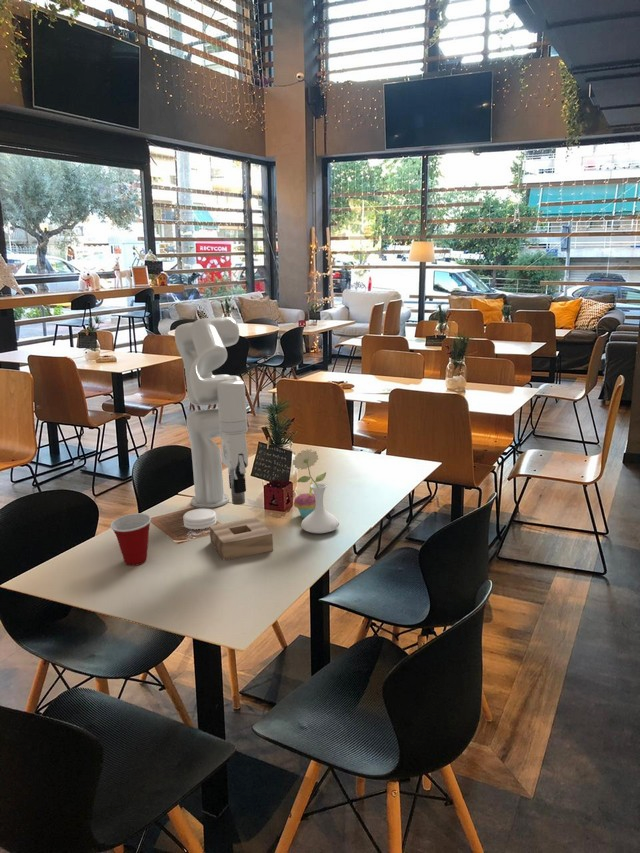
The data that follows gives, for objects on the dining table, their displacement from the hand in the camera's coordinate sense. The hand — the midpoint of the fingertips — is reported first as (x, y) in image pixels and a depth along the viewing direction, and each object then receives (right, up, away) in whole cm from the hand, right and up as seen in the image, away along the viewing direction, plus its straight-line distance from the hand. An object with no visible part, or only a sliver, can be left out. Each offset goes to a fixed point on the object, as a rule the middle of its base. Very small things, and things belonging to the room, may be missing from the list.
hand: (237, 489), depth 194 cm
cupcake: (+19, -11, +26) cm, 34 cm away
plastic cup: (-28, -19, -3) cm, 34 cm away
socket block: (0, -16, +4) cm, 17 cm away
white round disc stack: (-14, -13, +22) cm, 30 cm away
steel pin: (0, -4, +1) cm, 4 cm away
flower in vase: (+22, -13, +14) cm, 30 cm away
